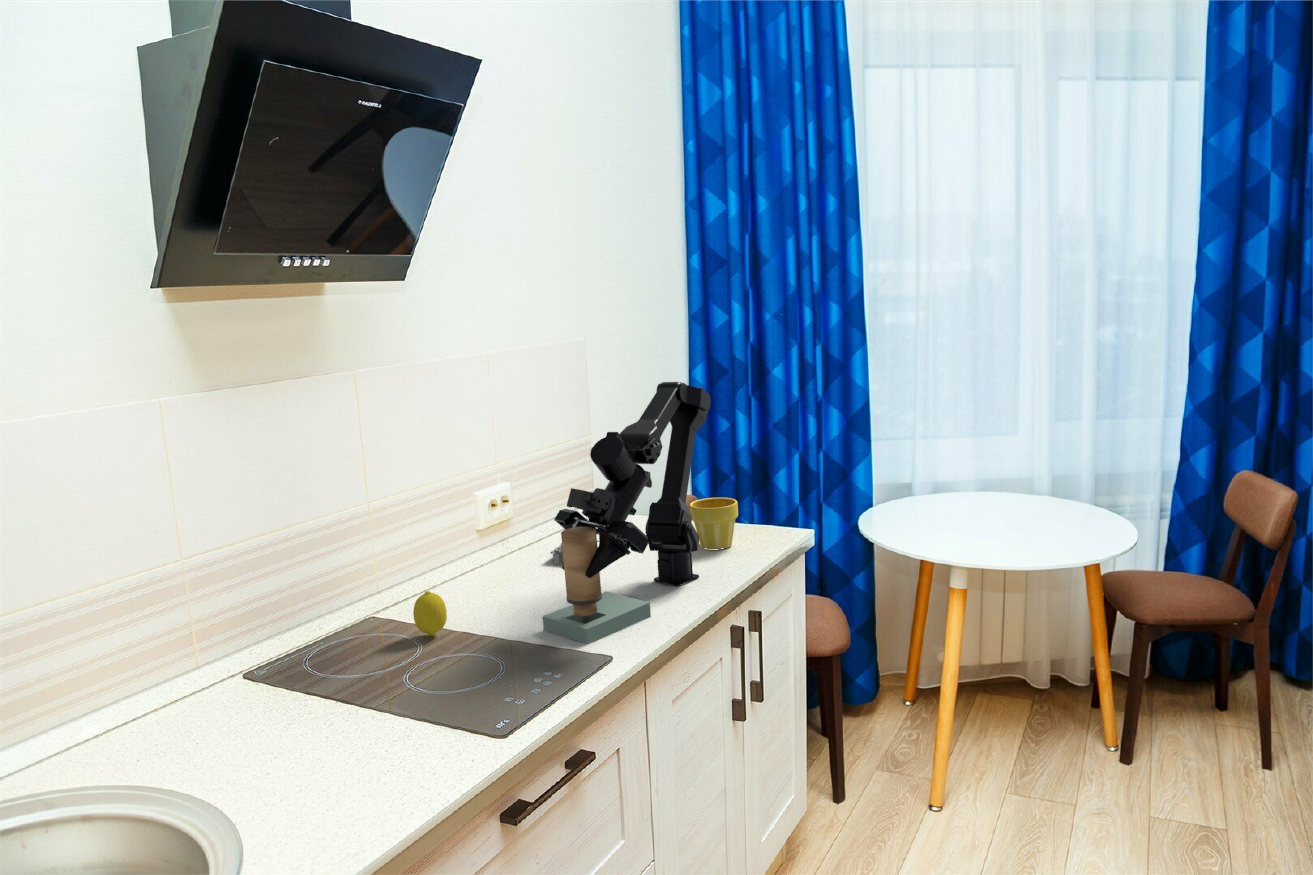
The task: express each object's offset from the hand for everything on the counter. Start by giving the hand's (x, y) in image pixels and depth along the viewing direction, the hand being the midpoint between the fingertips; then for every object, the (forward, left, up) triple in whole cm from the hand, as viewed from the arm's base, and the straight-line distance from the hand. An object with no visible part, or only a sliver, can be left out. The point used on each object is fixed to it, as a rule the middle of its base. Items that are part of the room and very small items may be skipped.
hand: (575, 573), depth 156 cm
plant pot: (-52, -13, -11) cm, 54 cm away
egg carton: (-30, -34, -11) cm, 47 cm away
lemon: (+15, -21, -11) cm, 28 cm away
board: (-5, -1, -10) cm, 12 cm away
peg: (-1, 0, -7) cm, 7 cm away
